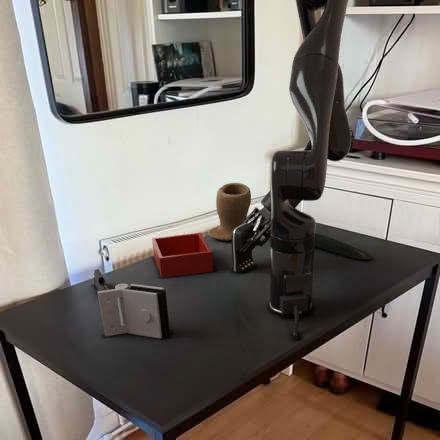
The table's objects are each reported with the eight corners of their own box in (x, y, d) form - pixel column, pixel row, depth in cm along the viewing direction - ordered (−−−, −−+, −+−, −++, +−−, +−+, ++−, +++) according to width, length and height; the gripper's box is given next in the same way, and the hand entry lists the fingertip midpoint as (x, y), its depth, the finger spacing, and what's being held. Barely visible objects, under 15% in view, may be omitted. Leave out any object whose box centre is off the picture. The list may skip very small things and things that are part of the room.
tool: (275, 244, 161) (275, 221, 158) (289, 237, 165) (289, 215, 161) (359, 266, 145) (361, 241, 142) (372, 259, 149) (375, 234, 145)
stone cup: (232, 247, 161) (231, 193, 152) (203, 238, 168) (200, 186, 159) (266, 233, 169) (267, 181, 161) (237, 225, 176) (236, 175, 168)
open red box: (213, 271, 146) (212, 251, 144) (161, 277, 144) (159, 258, 141) (201, 251, 159) (200, 232, 156) (153, 256, 157) (151, 238, 154)
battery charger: (243, 275, 144) (243, 231, 137) (231, 272, 146) (230, 228, 139) (259, 266, 148) (259, 223, 142) (247, 263, 150) (246, 220, 144)
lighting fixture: (122, 313, 129) (119, 296, 126) (110, 315, 128) (108, 298, 125) (105, 283, 143) (102, 267, 141) (94, 285, 142) (92, 269, 140)
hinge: (103, 336, 119) (96, 292, 114) (111, 325, 124) (104, 282, 118) (167, 339, 117) (162, 294, 112) (173, 327, 122) (168, 283, 116)
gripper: (265, 180, 143) (222, 231, 147) (283, 195, 131) (235, 250, 136) (284, 199, 147) (242, 248, 151) (303, 215, 135) (256, 268, 140)
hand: (239, 249), depth 144 cm, fingers closed on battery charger, 6 cm apart
